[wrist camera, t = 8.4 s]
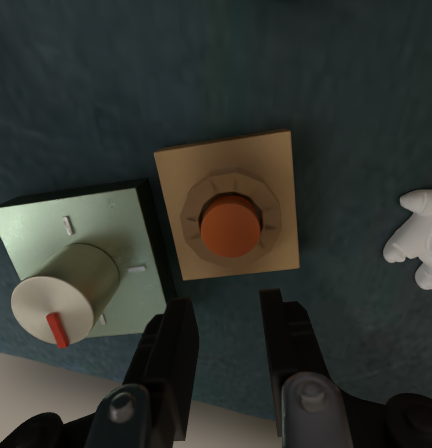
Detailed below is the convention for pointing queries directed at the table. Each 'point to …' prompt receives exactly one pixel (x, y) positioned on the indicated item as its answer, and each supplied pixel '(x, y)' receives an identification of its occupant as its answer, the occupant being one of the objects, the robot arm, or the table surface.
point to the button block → (238, 186)
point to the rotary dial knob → (66, 294)
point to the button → (230, 226)
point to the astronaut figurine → (414, 236)
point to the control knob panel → (97, 244)
